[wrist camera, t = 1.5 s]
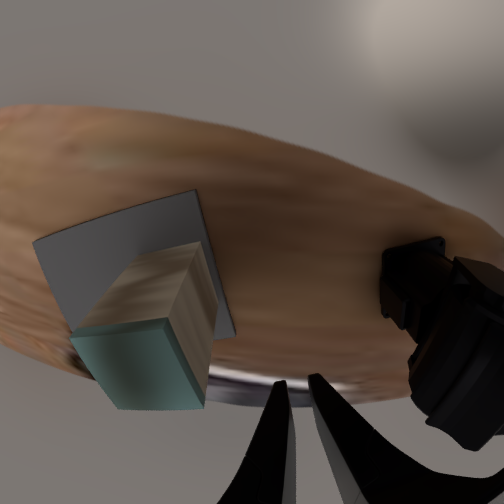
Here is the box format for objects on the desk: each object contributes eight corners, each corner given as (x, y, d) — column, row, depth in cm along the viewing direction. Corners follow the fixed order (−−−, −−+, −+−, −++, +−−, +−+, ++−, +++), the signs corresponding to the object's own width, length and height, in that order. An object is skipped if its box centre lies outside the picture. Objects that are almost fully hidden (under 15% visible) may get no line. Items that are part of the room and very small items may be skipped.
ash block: (200, 241, 19) (163, 328, 10) (218, 302, 21) (203, 408, 11) (137, 255, 19) (69, 337, 10) (159, 312, 21) (118, 409, 12)
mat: (196, 189, 18) (194, 190, 18) (236, 332, 23) (235, 336, 22) (35, 240, 19) (31, 242, 19) (86, 348, 23) (84, 352, 23)
